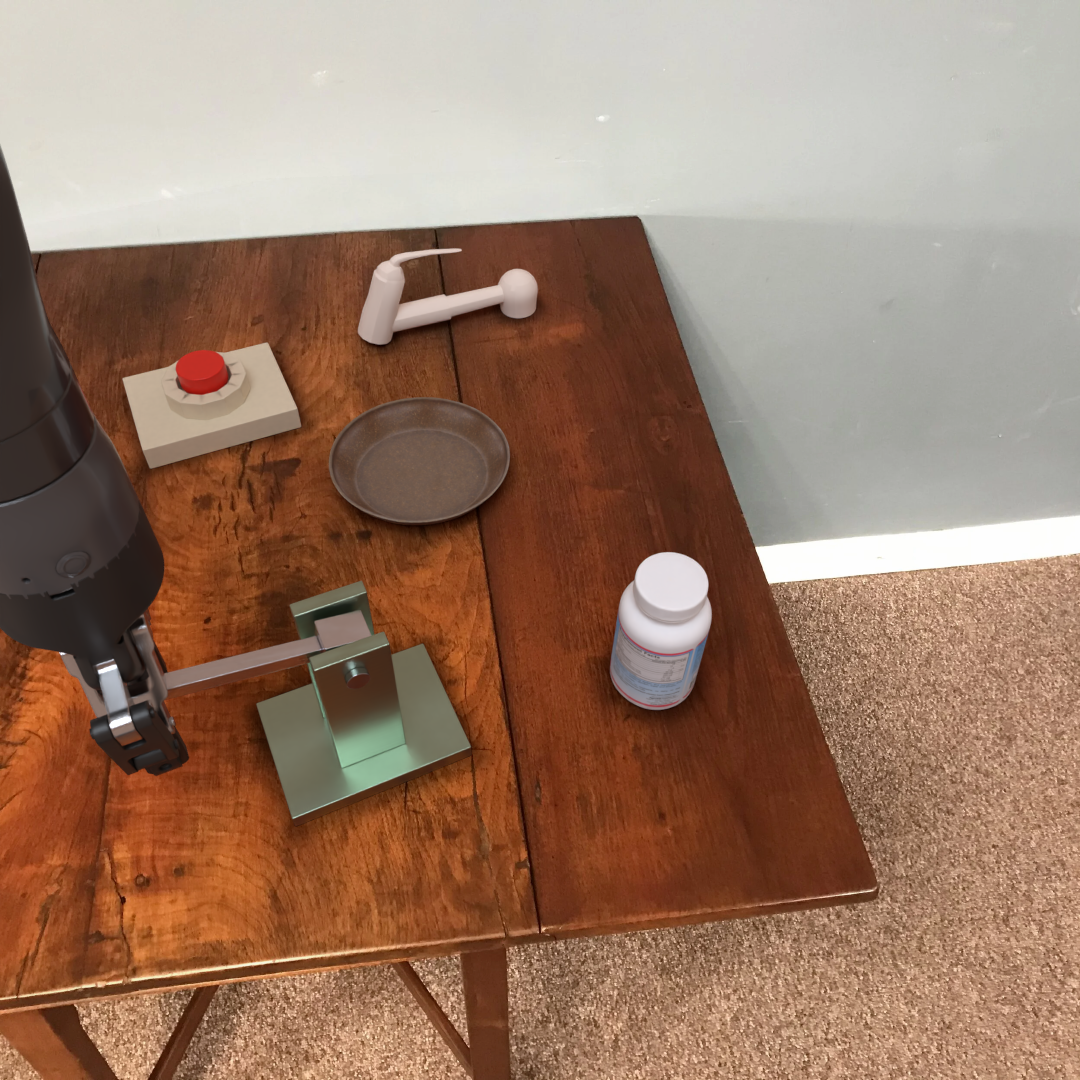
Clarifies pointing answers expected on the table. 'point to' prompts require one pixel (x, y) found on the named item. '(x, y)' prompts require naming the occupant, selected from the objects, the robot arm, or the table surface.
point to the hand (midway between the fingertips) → (158, 719)
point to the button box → (211, 408)
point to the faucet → (436, 299)
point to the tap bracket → (357, 716)
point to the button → (202, 372)
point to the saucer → (419, 460)
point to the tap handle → (266, 657)
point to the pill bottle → (661, 631)
